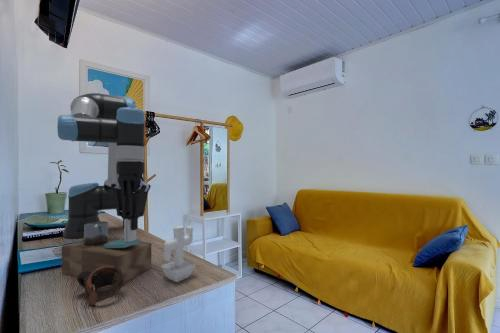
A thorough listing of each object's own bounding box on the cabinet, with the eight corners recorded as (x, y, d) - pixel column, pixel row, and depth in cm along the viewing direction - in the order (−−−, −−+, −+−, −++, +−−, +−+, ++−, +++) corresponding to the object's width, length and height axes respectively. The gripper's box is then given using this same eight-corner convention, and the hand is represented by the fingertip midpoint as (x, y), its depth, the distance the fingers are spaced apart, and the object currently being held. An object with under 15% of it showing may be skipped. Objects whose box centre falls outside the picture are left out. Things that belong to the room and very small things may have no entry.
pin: (97, 259, 85) (97, 220, 85) (112, 262, 83) (112, 222, 83) (78, 267, 79) (79, 225, 79) (93, 270, 77) (94, 227, 77)
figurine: (156, 279, 74) (157, 227, 73) (183, 269, 81) (184, 221, 81) (172, 287, 69) (172, 231, 69) (198, 275, 77) (199, 225, 77)
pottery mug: (131, 286, 70) (132, 266, 67) (111, 320, 62) (112, 299, 58) (87, 275, 70) (86, 254, 66) (62, 308, 61) (59, 286, 58)
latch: (120, 242, 81) (120, 239, 81) (140, 241, 79) (140, 238, 79) (104, 248, 76) (103, 244, 76) (124, 247, 73) (124, 244, 73)
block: (100, 258, 89) (100, 235, 89) (151, 268, 82) (151, 243, 82) (61, 273, 77) (61, 246, 77) (117, 286, 69) (117, 256, 69)
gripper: (157, 161, 77) (157, 239, 77) (123, 161, 82) (123, 235, 82) (139, 160, 70) (138, 246, 70) (102, 160, 75) (102, 241, 75)
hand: (130, 240), depth 76 cm, fingers closed
